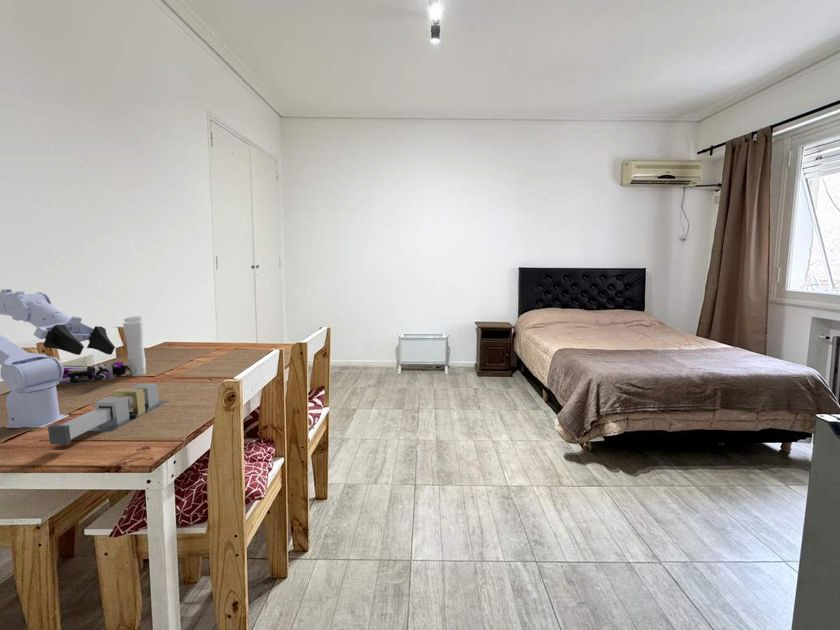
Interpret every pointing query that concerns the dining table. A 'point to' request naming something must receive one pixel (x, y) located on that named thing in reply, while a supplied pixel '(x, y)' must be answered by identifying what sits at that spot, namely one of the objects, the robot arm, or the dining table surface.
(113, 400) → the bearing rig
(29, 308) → the robot arm
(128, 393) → the spacer
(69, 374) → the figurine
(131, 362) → the white plastic bottle
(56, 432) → the shaft
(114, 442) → the dining table surface
